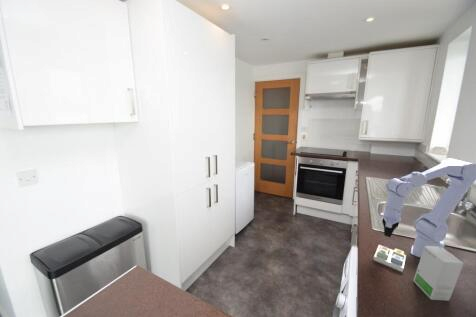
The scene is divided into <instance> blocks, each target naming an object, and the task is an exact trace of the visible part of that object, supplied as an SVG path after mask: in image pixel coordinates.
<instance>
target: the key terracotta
mask: <svg viewBox="0 0 476 317" xmlns="http://www.w3.org/2000/svg"><path fill="white" fill-rule="evenodd" d="M380 245H381V244H380ZM380 249H383V250H385V251H388V253H389V249H391V248H389V247H387V246H384V245H383V244H382V245H381V247H380Z"/></svg>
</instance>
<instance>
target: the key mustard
mask: <svg viewBox="0 0 476 317" xmlns="http://www.w3.org/2000/svg"><path fill="white" fill-rule="evenodd" d="M393 250H394V254H396V255H398V256H401V257H403V255H404V254H405V251H403V250H401V249H398V248H394V249H393Z"/></svg>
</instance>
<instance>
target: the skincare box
mask: <svg viewBox="0 0 476 317" xmlns="http://www.w3.org/2000/svg"><path fill="white" fill-rule="evenodd" d="M464 264H465V263H464V262H463V261H461V260H460V259H459V258H457V257H455V255H454V254H453V253H452V252H449V251H447V250H446V249H445V247H444V248H442V247H435V246H424V249H423V252H422V255H421V258H420V259H419V263H418V265H417V267H416V272H415V275H414V278H413V281H412V282H414V283H415V284H416V286H417V287H418V288H419V289H420V290H421V291H422V292H423V293H424V295H426V297H428V298H429V299H430V300H431V301H447V302H449V301H450V299H451V298H452V295H453V292H454V289H455V287H456V284H457V282H458V279H459V277H460V274H461V272H462V270H463V269H462V268H463V266H464Z"/></svg>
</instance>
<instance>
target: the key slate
mask: <svg viewBox="0 0 476 317" xmlns="http://www.w3.org/2000/svg"><path fill="white" fill-rule="evenodd" d="M402 260H403V257H401V256H398V255H396V254H393V257H392V262H393V263H395V264H397V265H400V266H401V264H402Z"/></svg>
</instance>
